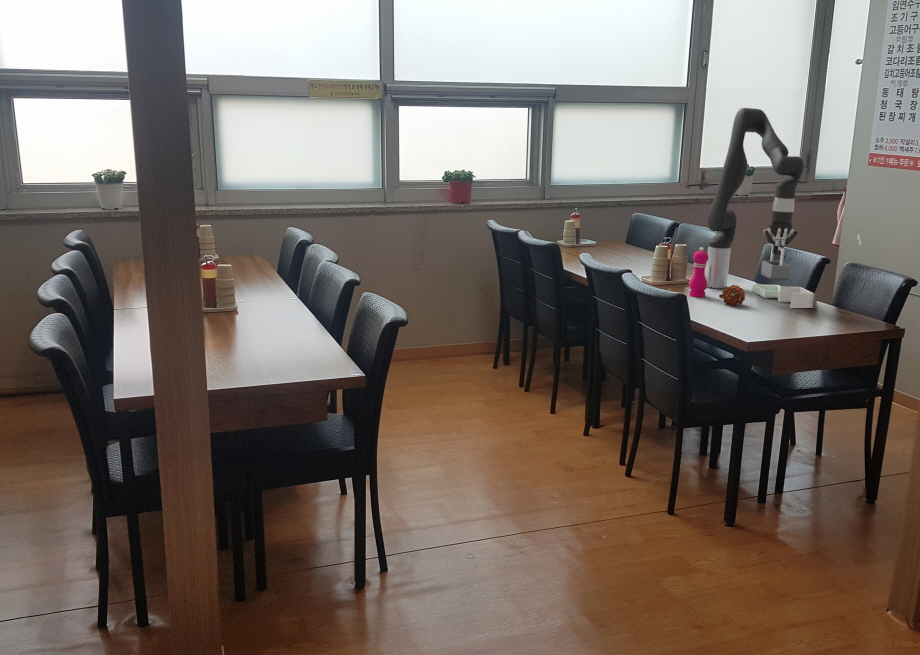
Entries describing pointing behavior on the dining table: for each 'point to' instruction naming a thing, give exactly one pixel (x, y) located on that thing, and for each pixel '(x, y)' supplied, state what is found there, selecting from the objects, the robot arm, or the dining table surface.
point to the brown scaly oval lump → (733, 295)
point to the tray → (767, 290)
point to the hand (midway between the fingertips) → (777, 254)
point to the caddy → (775, 268)
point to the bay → (796, 297)
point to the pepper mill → (699, 274)
